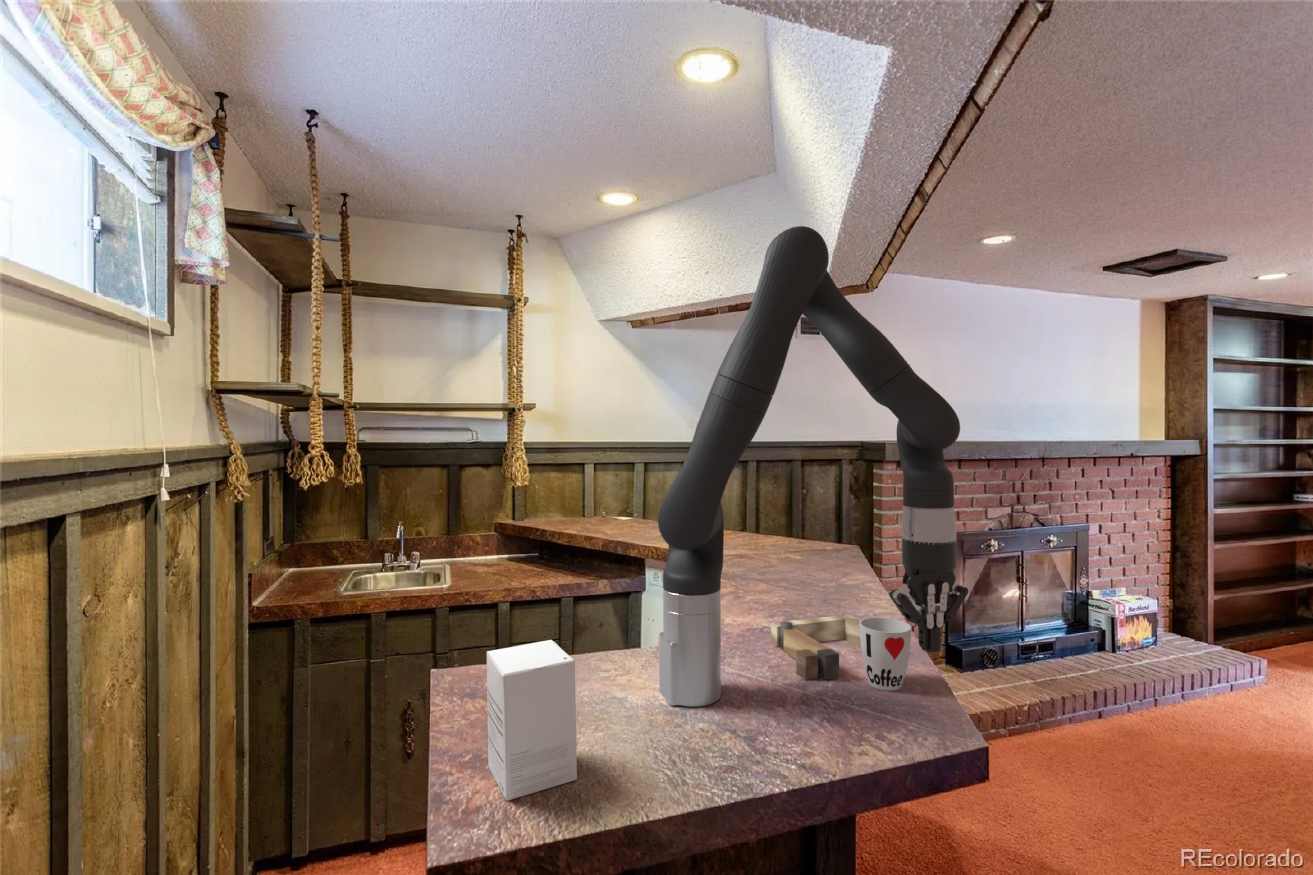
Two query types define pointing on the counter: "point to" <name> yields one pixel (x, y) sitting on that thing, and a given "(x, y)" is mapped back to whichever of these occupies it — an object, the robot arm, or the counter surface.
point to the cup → (885, 651)
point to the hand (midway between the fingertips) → (929, 650)
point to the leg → (800, 641)
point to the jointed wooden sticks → (818, 638)
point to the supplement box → (531, 718)
